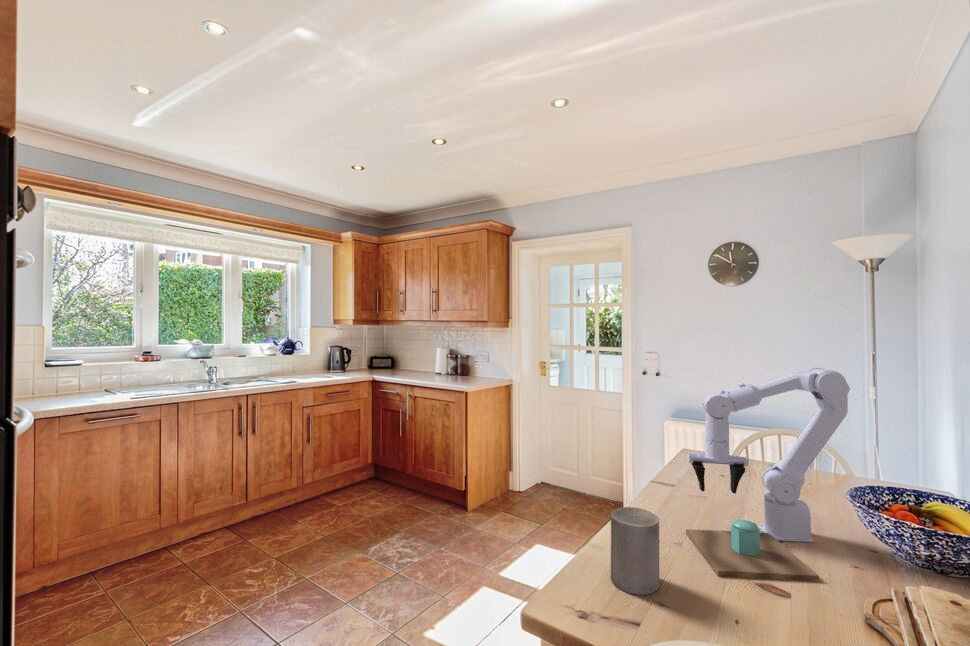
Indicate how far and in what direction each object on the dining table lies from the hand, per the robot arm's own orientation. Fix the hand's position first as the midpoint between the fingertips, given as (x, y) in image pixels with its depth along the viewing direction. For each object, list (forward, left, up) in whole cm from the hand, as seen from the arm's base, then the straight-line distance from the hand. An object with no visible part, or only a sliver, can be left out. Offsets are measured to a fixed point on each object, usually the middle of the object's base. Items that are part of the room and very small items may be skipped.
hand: (717, 491), depth 120 cm
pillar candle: (+28, +29, -10) cm, 42 cm away
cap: (0, +15, -8) cm, 17 cm away
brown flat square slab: (0, +15, -9) cm, 18 cm away
